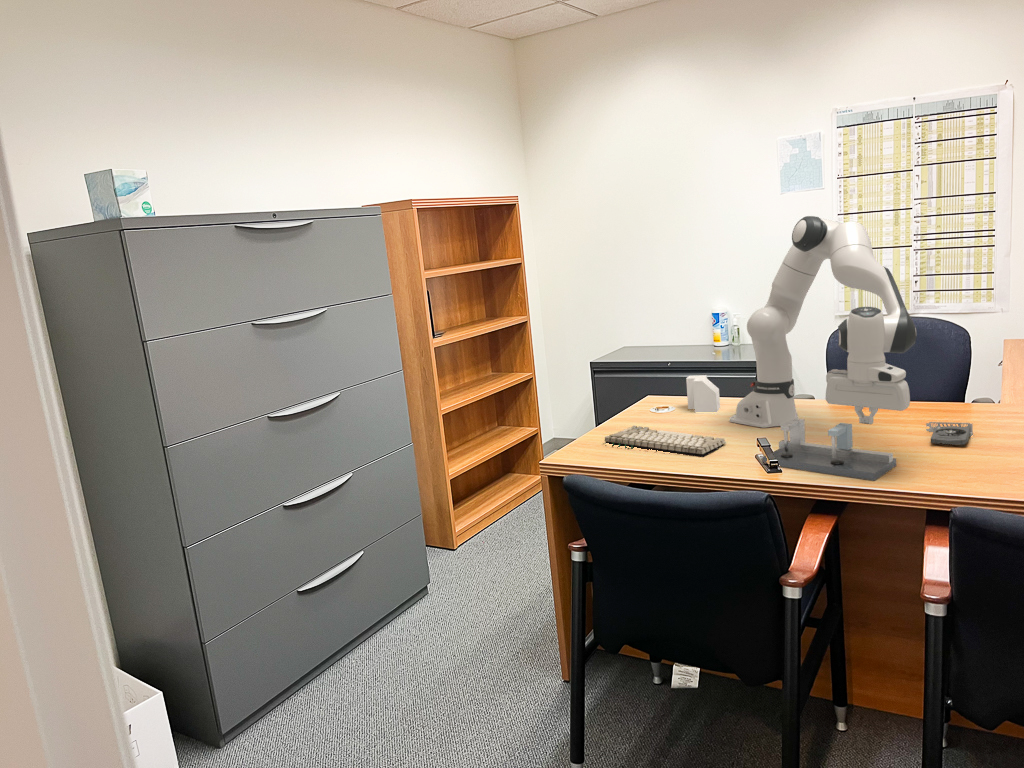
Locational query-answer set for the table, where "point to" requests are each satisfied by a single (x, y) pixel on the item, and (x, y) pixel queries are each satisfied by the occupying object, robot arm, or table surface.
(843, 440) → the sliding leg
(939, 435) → the graphics card
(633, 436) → the mechanical keyboard
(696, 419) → the table surface
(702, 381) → the grey chamfered block
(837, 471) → the grey fixture base
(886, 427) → the table surface
